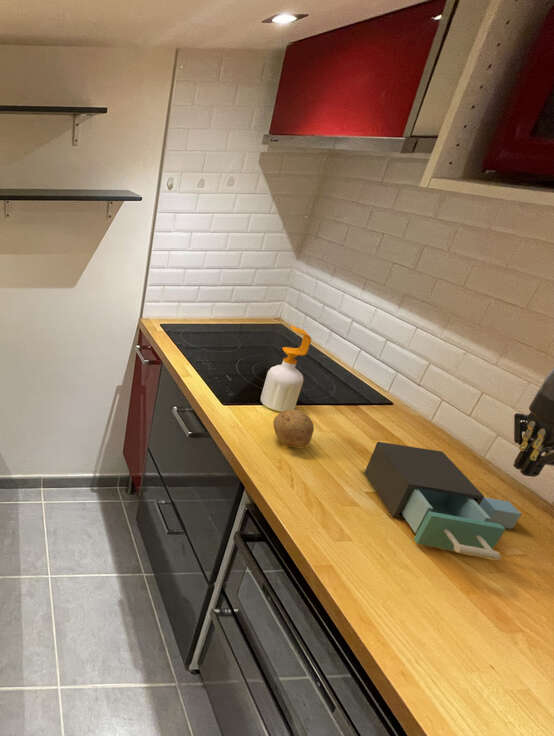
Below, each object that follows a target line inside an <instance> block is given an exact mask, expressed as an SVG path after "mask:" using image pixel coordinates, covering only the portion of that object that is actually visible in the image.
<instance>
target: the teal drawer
mask: <svg viewBox="0 0 554 736" xmlns="http://www.w3.org/2000/svg"><path fill="white" fill-rule="evenodd" d="M401 513H402V515H403V516H404V518H405V519H406V520H405V521H406V522H407V524H408V525H409V527H410V528H411V530H412V531H413V533H414V534H415V536H414V538H413V540H414V541H415V543H416V544H417V545H421V546H427V547H432V548H437V549H442V550H447V551H452V552H456V553H457V554H463V555H469V556H472V557H478V558H484V559H488V560H495V561H500V559H501V553H500V552H499V551H497V550H494V549H495V547H496V546H497V543H498V542H499V540H500V539H501V537H502V536H503V534H504V533H505V531H506V528H505V527H503V526H502V525H501V524H497V523H491V522H489V521H490V520H491V518H490V517H489V516H488V515H487V513H486V512H485V511H484V510H483V509H482V508H481V507H480V506H479V505H478V503H477V502H476V501H475V500H474V499H473V498H471V497H465V496H459V495H453V494H447V493H441V492H435V491H429V490H423V489H418V488H412V489H411V491H410V493H409V495H408V497H407V499H406V501H405V503H404V505H403V507H402V510H401Z"/></svg>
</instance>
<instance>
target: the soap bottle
mask: <svg viewBox="0 0 554 736" xmlns="http://www.w3.org/2000/svg"><path fill="white" fill-rule="evenodd" d="M290 328H291V329H292V330H293V331H294V332H295V333H297V334H299V335H302V336H303V337H302V340H301V343H300V346H299V347H288V346H283V347H282V351H283V353H285V354H286V355H287V356H285V357H283V358H282V359H283V360H282V362H281V364H277V365H275V366H271V367H270V369H268V371H267V373H266V377H265V380H264V383H263V388H262V391H261V394H260V402H261V404H262V405H263V406H265V407H266V408H267V409H270V410H272V411H276V412H279V413H281V412H283V411H286V410H295V408H296V405H297V402H298V399H299V396H300V392H301V390H302V387H303V384H304V375H303V374H302V372H300V370H298V368H296V366H297V362H298V360H297V359H296V358H297V357H298V356H306V355H307V354H308V352H309V348H310V346H311V342H312V337H311V336H310V335H309V334H308V332H306V330H304V329H303V328H299V327H297V326H295V325H291V326H290Z"/></svg>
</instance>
